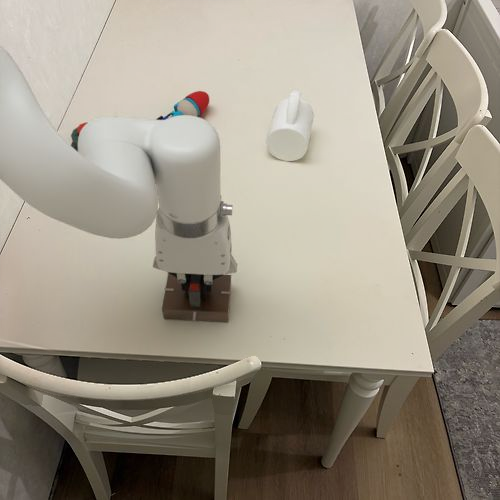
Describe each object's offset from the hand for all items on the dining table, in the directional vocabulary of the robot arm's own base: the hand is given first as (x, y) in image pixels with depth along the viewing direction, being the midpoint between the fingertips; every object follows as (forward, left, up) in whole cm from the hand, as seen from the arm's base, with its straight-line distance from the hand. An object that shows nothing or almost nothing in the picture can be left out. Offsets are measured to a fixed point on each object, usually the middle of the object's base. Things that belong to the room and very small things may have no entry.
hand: (197, 290), depth 75 cm
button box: (-10, +42, -3) cm, 43 cm away
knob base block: (0, 0, -3) cm, 3 cm away
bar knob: (0, 0, 0) cm, 0 cm away
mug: (+29, +31, -4) cm, 42 cm away
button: (-10, +41, 0) cm, 43 cm away
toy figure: (+10, +45, -4) cm, 46 cm away
